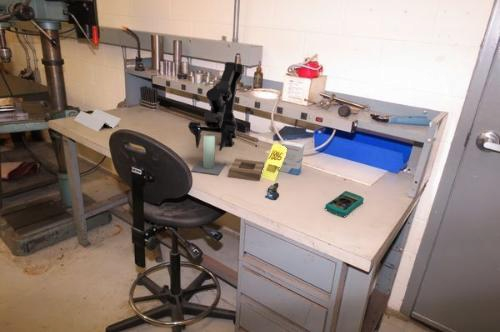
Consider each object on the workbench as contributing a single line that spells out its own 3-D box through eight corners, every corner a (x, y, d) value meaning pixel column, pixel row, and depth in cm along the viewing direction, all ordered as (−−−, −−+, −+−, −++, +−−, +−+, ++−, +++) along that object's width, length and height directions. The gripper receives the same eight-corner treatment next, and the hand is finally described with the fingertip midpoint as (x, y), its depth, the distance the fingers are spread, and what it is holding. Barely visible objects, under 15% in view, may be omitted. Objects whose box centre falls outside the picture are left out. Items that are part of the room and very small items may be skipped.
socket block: (235, 165, 142) (235, 158, 141) (263, 168, 141) (264, 162, 139) (228, 176, 131) (228, 169, 130) (259, 181, 130) (260, 173, 129)
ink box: (301, 171, 141) (305, 144, 136) (297, 175, 137) (301, 147, 132) (282, 166, 144) (285, 139, 140) (277, 170, 140) (280, 143, 135)
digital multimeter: (323, 211, 113) (324, 203, 112) (344, 196, 124) (345, 189, 123) (343, 219, 109) (345, 211, 108) (363, 203, 120) (365, 196, 118)
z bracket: (106, 138, 175) (97, 131, 170) (83, 126, 189) (73, 120, 184) (120, 119, 177) (112, 111, 173) (96, 109, 192) (87, 102, 187)
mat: (199, 161, 143) (199, 160, 143) (225, 164, 142) (225, 163, 142) (190, 171, 133) (190, 170, 133) (218, 175, 132) (218, 174, 132)
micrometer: (275, 197, 116) (262, 193, 118) (275, 202, 117) (261, 198, 119) (287, 183, 126) (274, 180, 128) (286, 188, 127) (274, 185, 129)
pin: (208, 163, 140) (209, 133, 135) (216, 167, 138) (217, 136, 133) (200, 166, 137) (201, 135, 132) (208, 170, 135) (209, 138, 130)
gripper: (189, 101, 133) (179, 136, 127) (236, 106, 130) (228, 142, 125) (196, 115, 143) (187, 149, 138) (239, 120, 141) (232, 155, 135)
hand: (208, 149), depth 133 cm, fingers open, 9 cm apart
